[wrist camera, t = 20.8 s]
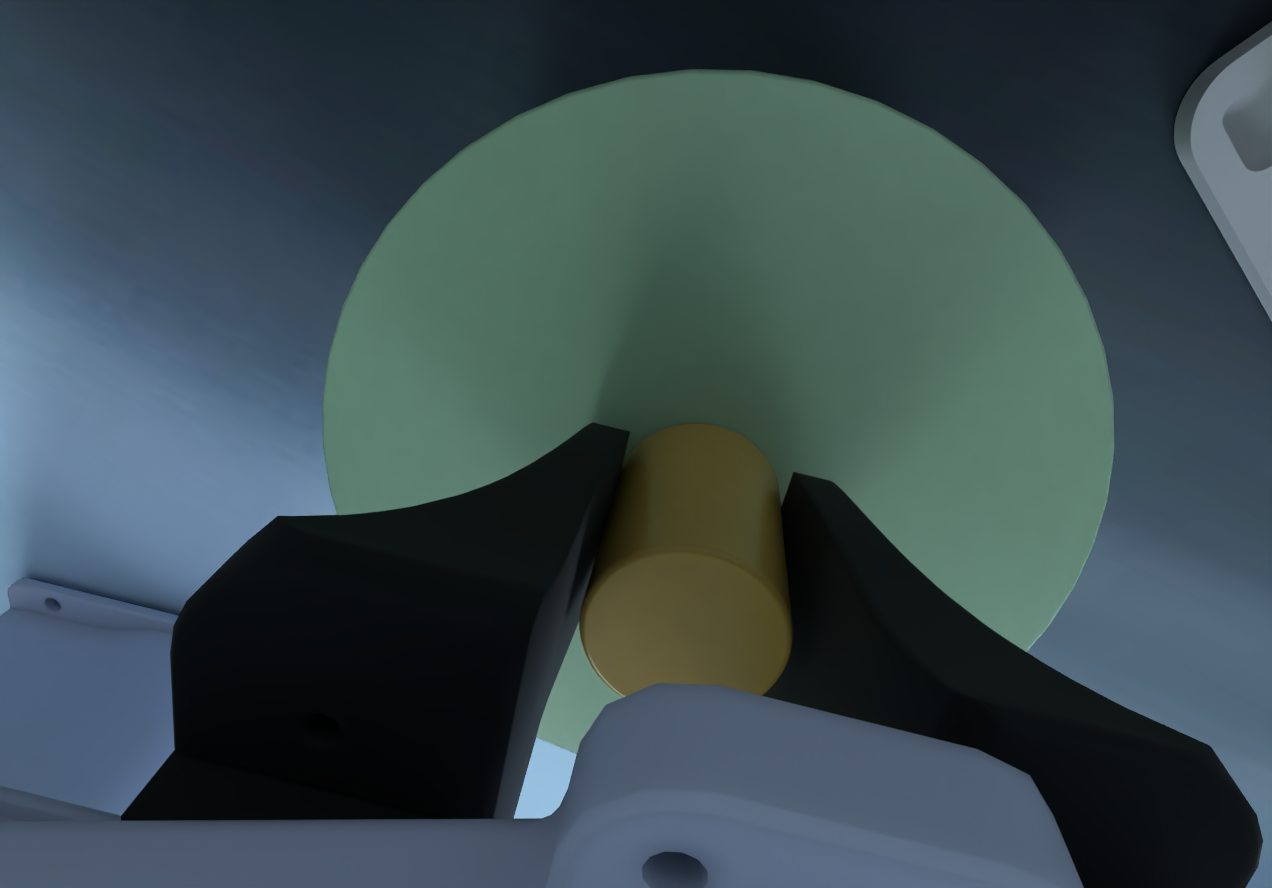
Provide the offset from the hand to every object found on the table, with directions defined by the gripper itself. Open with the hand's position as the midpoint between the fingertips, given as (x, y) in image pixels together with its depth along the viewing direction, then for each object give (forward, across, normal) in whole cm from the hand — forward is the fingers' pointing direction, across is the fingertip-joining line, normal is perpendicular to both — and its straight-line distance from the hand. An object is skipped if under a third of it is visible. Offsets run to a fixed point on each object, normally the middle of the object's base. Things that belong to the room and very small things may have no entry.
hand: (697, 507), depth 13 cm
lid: (+1, 0, 0) cm, 1 cm away
